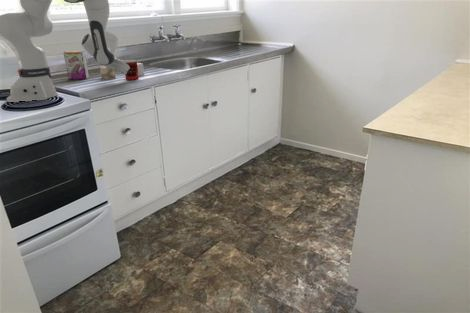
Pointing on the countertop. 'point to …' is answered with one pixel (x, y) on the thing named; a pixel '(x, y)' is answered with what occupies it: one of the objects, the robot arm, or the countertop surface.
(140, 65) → the grey plastic block
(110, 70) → the birch block
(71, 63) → the candy bar box
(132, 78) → the canned food
